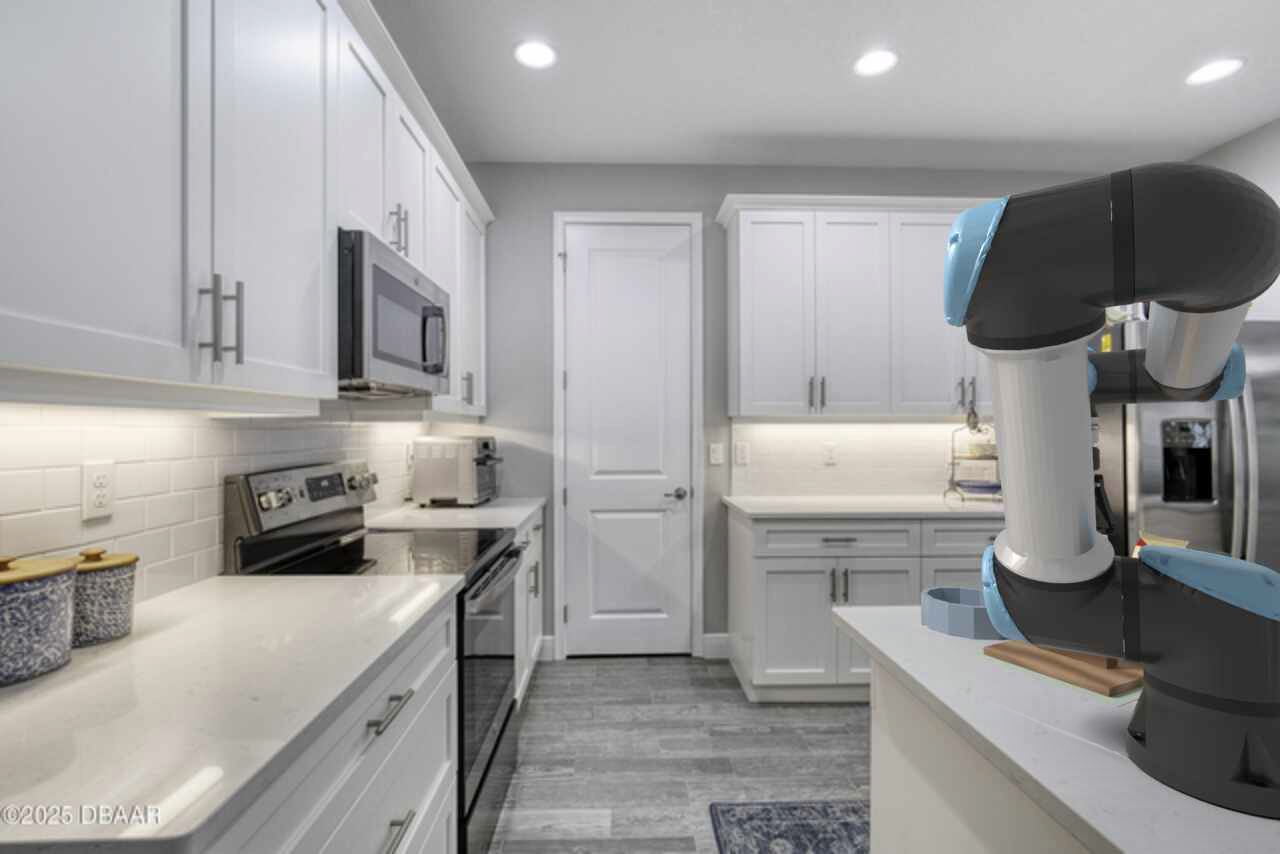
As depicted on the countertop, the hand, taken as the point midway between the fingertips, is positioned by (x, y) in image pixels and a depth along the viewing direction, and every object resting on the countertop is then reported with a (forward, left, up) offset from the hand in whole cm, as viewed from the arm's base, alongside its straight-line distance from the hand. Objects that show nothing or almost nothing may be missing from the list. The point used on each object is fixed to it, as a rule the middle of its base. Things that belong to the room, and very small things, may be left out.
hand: (1073, 579), depth 92 cm
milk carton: (+21, -2, -14) cm, 25 cm away
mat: (0, 0, -14) cm, 14 cm away
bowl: (+2, +20, -14) cm, 24 cm away
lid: (0, 0, -13) cm, 13 cm away
